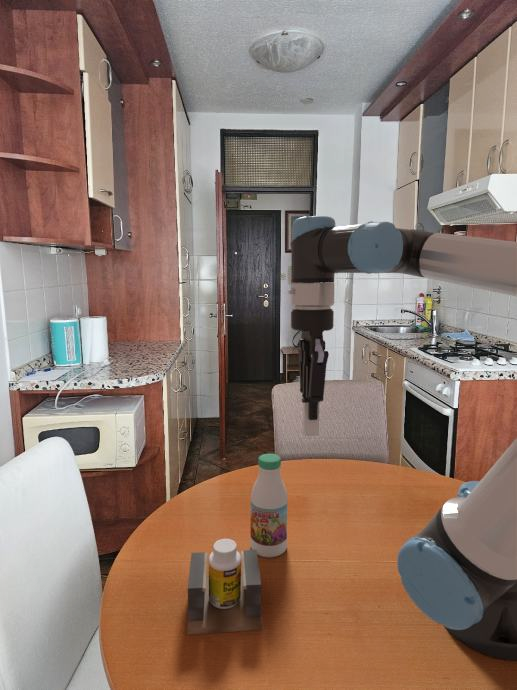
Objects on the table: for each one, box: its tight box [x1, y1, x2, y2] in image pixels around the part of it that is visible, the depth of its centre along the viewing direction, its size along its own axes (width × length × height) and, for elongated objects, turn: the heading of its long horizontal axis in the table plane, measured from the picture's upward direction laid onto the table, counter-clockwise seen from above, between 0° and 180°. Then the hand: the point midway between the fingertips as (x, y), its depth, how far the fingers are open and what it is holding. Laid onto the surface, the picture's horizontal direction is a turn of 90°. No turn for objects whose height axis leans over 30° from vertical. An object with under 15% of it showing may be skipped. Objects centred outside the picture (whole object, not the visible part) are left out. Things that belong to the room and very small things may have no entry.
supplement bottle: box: [208, 538, 242, 609], centre depth 74 cm, size 6×6×10 cm
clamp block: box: [186, 549, 263, 635], centre depth 75 cm, size 12×12×7 cm
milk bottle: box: [249, 453, 289, 558], centre depth 90 cm, size 8×8×20 cm
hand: (310, 434), depth 81 cm, fingers closed
